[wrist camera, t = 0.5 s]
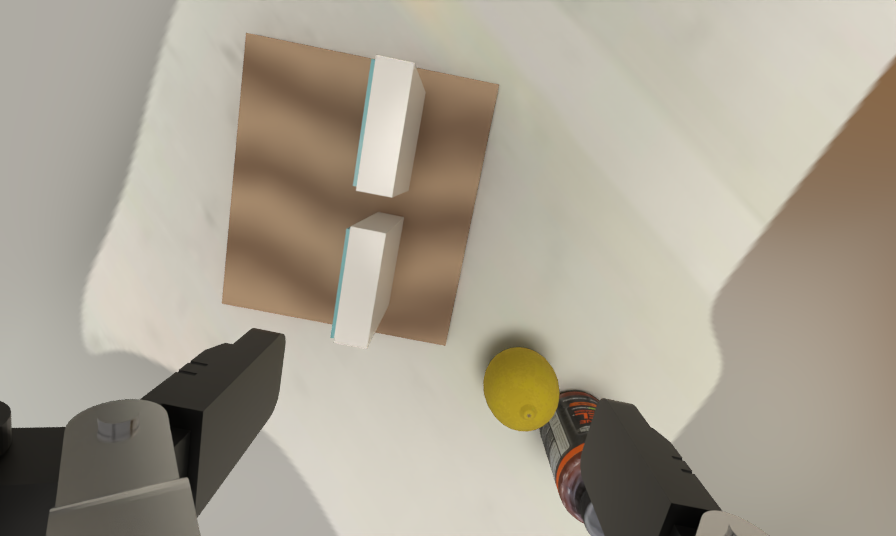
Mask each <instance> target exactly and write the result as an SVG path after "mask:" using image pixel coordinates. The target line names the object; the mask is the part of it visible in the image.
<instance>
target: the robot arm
mask: <svg viewBox="0 0 896 536" xmlns="http://www.w3.org/2000/svg"><path fill="white" fill-rule="evenodd" d="M284 351H285V335H284V334H281V333H276V332H271V331H266V330H261V329H256V328H252V329H251V330H249V331H248V332H247V333H246V334H245V335H243V336H242V337H241V338H240V339H239V340H237V341H236V342H235V343H234V344H228V343H224V344H221V345H218V346H215V347H213V348H210V349H207V350H204V351H203V352H202V353H201V354H199V355H198V356H197V357H195V358H194V359H193V360H191V362H190V363H187V364H186V365H185V366H183V367H182V368H181V369H179V372H175V373H174V374H173V375H172V376H170V377H169V378H168V379H166V380H165V381H164V382H162V383H161V384H160V385H158V386H157V387H156V388H154V389H153V390H152V391H150V392H149V393H148V394H147V395H145V396H144V397H143V398H141V399H140V400H139V399H125V400H117V401H110V402H106V403H102V404H99V405H96V406H93V407H91V408H88V409H86V410H84V411H82V412H80V413H79V414H77V415H76V416H75V417H73V418H72V419H71V420H70V421H69V422H68V424H67V425H66V427H46V428H45V427H44V428H11V410H10V407H9V406H8V405H7V404H5V403H4V402H1V401H0V536H200V531H199V527H198V521H197V517H198V515H200V513H201V512H202V510H203V509H204V508H205V506H206V505H207V504H208V502H209V501H210V499H211V498H212V497H213V495H214V494H215V493H216V491H217V490H218V488H219V487H220V485H221V484H222V483H223V481H224V480H225V479H226V477H227V476H228V475H229V473H230V472H231V470H232V469H233V468H234V466H235V465H236V464H237V462H238V461H239V459H240V458H241V457H242V455H243V454H244V452H245V451H246V450H247V448H248V447H249V446H250V444H251V443H252V441H253V440H254V439H255V437H256V436H257V434H258V433H259V432H260V430H261V429H262V428H263V426H264V425H265V423H266V422H267V421H268V419H269V418H270V416H271V415H272V413H273V411H274V408H275V406H276V403H277V400H278V396H279V390H280V383H281V375H282V367H283V359H284ZM580 469H581V476H582V479H583V482H584V484H585V487H586V490H587V492H588V495H589V497H590V500H591V502H592V505H593V507H594V510H595V513H596V515H597V518H598V520H599V523H600V525H601V528H602V530H603V533H604V535H605V536H769V535H768V534H766V533H765V532H764V531H762V530H761V529H759V528H758V527H757V526H755V525H753V524H752V523H750V522H748V521H746V520H744V519H742V518H740V517H738V516H736V515H733V514H730V513H727V512H723V511H722V510H721V509H720V507H719V506H718V505H717V503H716V502H715V501H714V499H713V498H712V497H711V495H710V494H709V493H708V491H707V490H706V489H705V487H704V486H703V485H702V483H701V482H700V481H699V480H698V478H697V477H696V476H695V474H692V470H691V469H690V468H689V466H688V465H687V464H686V462H685V461H682V457H681V456H680V454H679V453H678V452H677V450H676V449H675V448H674V446H673V445H672V444H671V442H669V441H668V440H667V439H666V438H664V437H663V436H662V435H661V434H659V433H658V432H657V431H656V430H655V429H653V428H651V427H650V426H649V424H648V423H647V422H646V420H645V419H644V418H643V416H642V415H641V413H640V412H639V411H638V409H637V408H636V407H635V405H633V404H629V403H624V402H619V401H614V400H609V399H604V398H603V399H601V400H600V401H599V402H598V404H597V406H596V409H595V412H594V415H593V419H592V422H591V425H590V428H589V431H588V434H587V437H586V440H585V444H584V447H583V450H582V454H581V461H580Z"/></svg>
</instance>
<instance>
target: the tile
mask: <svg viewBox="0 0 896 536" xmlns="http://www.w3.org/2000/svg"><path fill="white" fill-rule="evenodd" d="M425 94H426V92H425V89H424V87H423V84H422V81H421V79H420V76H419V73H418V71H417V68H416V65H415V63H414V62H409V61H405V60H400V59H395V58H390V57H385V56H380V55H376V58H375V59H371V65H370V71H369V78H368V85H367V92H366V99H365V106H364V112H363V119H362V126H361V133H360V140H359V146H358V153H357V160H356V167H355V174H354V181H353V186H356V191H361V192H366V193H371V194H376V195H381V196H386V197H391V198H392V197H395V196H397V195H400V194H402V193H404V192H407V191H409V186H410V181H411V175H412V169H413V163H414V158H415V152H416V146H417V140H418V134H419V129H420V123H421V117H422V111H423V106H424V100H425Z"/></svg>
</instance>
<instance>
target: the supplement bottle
mask: <svg viewBox="0 0 896 536" xmlns="http://www.w3.org/2000/svg"><path fill="white" fill-rule="evenodd" d="M598 402H599V400H598V399H596V398H595V397H593V396H592V395H589V394H587V393H584V392H578V391H575V392H566V393H562V394H559V402H558V407H557V409H556V411H555V414H554V416H553V417H552V418H551V419H550V421H549V422H548V423H546V424H545V425H544V426H542V427H540V428H539V429H540V433H541V438H542V441H543V444H544V447H545V451H546V454H547V457H548V460H549V464H550V467H551V470H552V473H553V476H554V480H555V483H556V486H557V489H558V492H559V495H560V498H561V500H562V503H563V505H564V506H565V508H566V509H567V511H568V512H569V513H570V514H571V515H572V516H573V517H575V518H576V519H577V520H579V521H580V522H582V523H584V524H585V527H586V529H587V531H588V533H589V534H590V535H591V536H605V535H604V533H603V530H602V528H601V525H600V523H599V520H598V518H597V515H596V513H595V510H594V507H593V505H592V502H591V500H590V497H589V495H588V492H587V490H586V487H585V484H584V482H583V479H582V476H581V469H580V461H581V454H582V450H583V447H584V444H585V440H586V437H587V434H588V431H589V428H590V425H591V422H592V419H593V415H594V412H595V409H596V406H597V404H598Z"/></svg>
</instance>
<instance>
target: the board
mask: <svg viewBox="0 0 896 536" xmlns="http://www.w3.org/2000/svg"><path fill="white" fill-rule="evenodd" d="M370 65H371V58H366V57H361V56H356V55H352V54H347V53H342V52H337V51H332V50H327V49H322V48H317V47H313V46H308V45H303V44H298V43H293V42H288V41H283V40H278V39H273V38H269V37H264V36H259V35H254V34H249V33H246V41H245V52H244V63H243V74H242V85H241V97H240V108H239V119H238V130H237V141H236V152H235V164H234V175H233V186H232V197H231V208H230V220H229V231H228V242H227V253H226V264H225V275H224V287H223V298H222V304H228V305H233V306H238V307H244V308H249V309H254V310H259V311H265V312H270V313H275V314H281V315H286V316H291V317H296V318H302V319H307V320H312V321H318V322H323V323H328V324H333V317H334V310H335V304H336V297H337V290H338V283H339V276H340V269H341V263H342V256H343V249H344V242H345V235H346V229H347V228H349V227H350V226H352V225H354V224H356V223H358V222H360V221H362V220H364V219H366V218H368V217H369V216H371V215H373V214H375V213H377V212H381V213H386V214H391V215H396V216H401V217H404V221H403V227H402V233H401V238H400V244H399V250H398V256H397V261H396V267H395V273H394V279H393V284H392V290H391V296H390V302H389V306H388V308H387V310H386V312H385V314H384V316H383V318H382V320H381V322H380V324H379V326H378V328H377V330H376V333H381V334H386V335H392V336H397V337H402V338H407V339H413V340H418V341H423V342H429V343H434V344H439V345H444V346H445V345H446V340H447V335H448V331H449V326H450V321H451V316H452V311H453V306H454V301H455V297H456V292H457V287H458V282H459V277H460V272H461V267H462V263H463V258H464V253H465V248H466V243H467V238H468V233H469V229H470V224H471V219H472V214H473V209H474V204H475V199H476V195H477V190H478V185H479V180H480V175H481V170H482V165H483V161H484V156H485V151H486V146H487V141H488V136H489V131H490V127H491V122H492V117H493V112H494V107H495V102H496V97H497V93H498V88H499V85H498V84H493V83H488V82H483V81H478V80H474V79H469V78H464V77H459V76H454V75H449V74H444V73H439V72H435V71H430V70H425V69H420V68H417V71H418V73H419V76H420V79H421V81H422V84H423V87H424V89H425V92H426V94H425V100H424V106H423V111H422V117H421V123H420V129H419V134H418V140H417V146H416V152H415V158H414V163H413V169H412V175H411V181H410V186H409V191H407V192H404V193H402V194H400V195H397V196H395V197H392V198H391V197H386V196H381V195H376V194H371V193H366V192H361V191H356V186H353V181H354V174H355V167H356V160H357V153H358V146H359V140H360V133H361V126H362V119H363V112H364V106H365V99H366V92H367V85H368V78H369V71H370Z"/></svg>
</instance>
